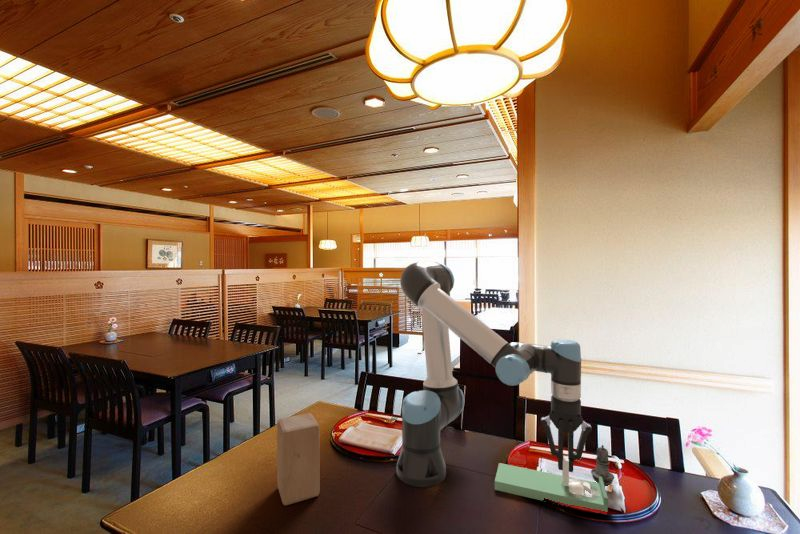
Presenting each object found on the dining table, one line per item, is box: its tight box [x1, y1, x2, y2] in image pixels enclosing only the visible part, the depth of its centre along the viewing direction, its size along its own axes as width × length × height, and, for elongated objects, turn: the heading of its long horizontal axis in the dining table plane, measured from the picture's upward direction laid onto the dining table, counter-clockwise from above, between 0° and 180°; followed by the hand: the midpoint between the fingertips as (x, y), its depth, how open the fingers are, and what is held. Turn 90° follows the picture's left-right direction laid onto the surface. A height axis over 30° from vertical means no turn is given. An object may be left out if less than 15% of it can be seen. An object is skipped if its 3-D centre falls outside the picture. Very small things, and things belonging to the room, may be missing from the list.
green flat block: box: [494, 462, 609, 513], centre depth 101 cm, size 28×10×4 cm, turn 68°
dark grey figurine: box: [590, 444, 615, 486], centre depth 103 cm, size 6×6×12 cm
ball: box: [569, 482, 586, 496], centre depth 98 cm, size 4×4×4 cm
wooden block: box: [276, 412, 321, 506], centre depth 101 cm, size 10×10×20 cm
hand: (565, 481), depth 99 cm, fingers closed
